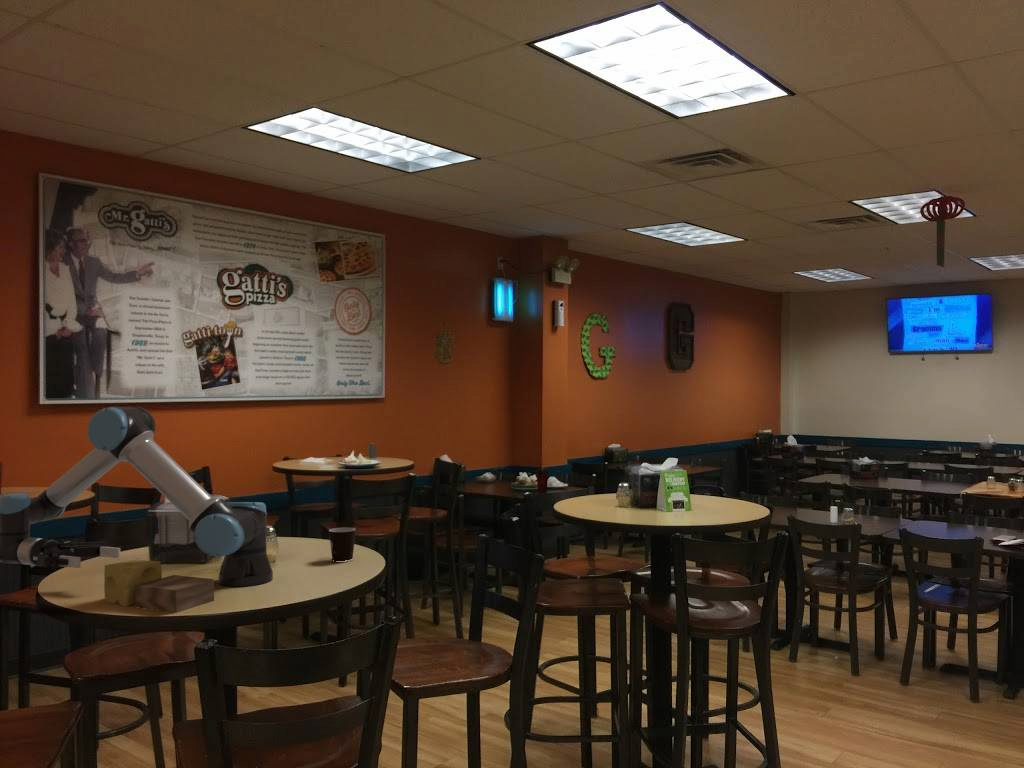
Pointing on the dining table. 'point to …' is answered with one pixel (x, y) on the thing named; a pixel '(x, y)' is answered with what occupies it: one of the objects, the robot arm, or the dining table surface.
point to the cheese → (128, 579)
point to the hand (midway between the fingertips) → (100, 557)
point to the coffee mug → (342, 543)
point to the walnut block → (174, 593)
